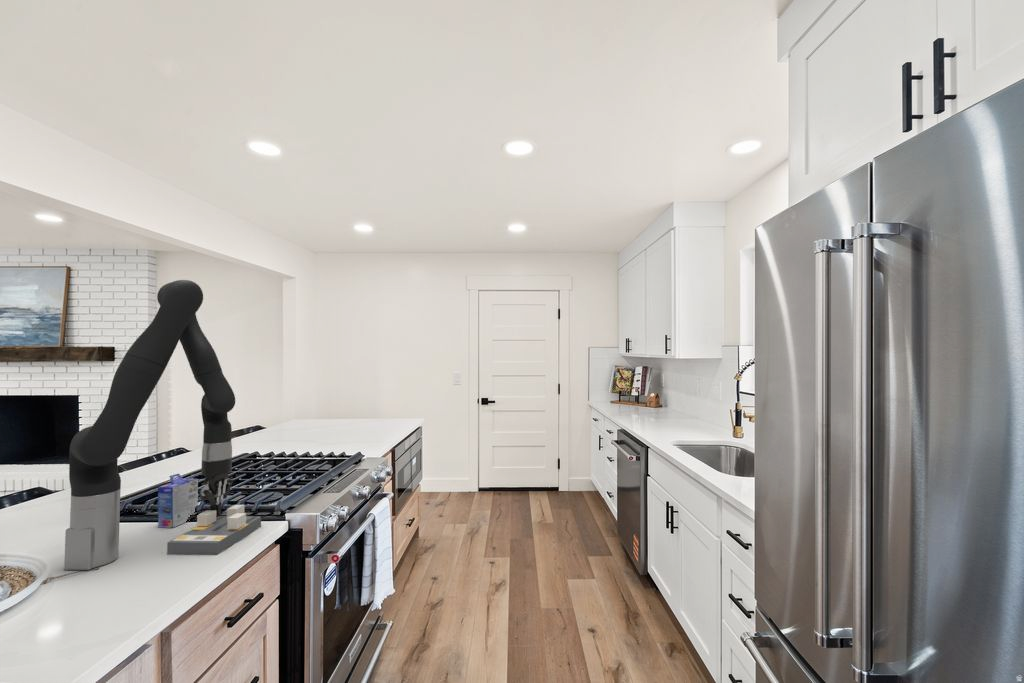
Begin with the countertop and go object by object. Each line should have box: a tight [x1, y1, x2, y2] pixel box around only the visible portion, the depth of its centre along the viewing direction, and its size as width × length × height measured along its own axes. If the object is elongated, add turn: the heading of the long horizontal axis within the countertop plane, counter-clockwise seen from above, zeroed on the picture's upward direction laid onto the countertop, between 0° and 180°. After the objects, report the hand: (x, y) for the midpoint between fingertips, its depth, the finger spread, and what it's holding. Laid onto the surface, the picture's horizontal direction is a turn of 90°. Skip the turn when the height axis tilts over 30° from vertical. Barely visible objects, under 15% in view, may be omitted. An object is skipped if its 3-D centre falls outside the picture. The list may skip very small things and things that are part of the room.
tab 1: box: [196, 509, 217, 527], centre depth 132 cm, size 4×3×3 cm
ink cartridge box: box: [157, 473, 199, 529], centre depth 143 cm, size 10×6×14 cm, turn 174°
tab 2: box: [227, 512, 247, 529], centre depth 130 cm, size 4×3×3 cm
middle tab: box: [226, 504, 245, 519], centre depth 137 cm, size 4×3×3 cm
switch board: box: [166, 515, 262, 556], centre depth 129 cm, size 20×14×3 cm
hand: (215, 516), depth 136 cm, fingers closed
